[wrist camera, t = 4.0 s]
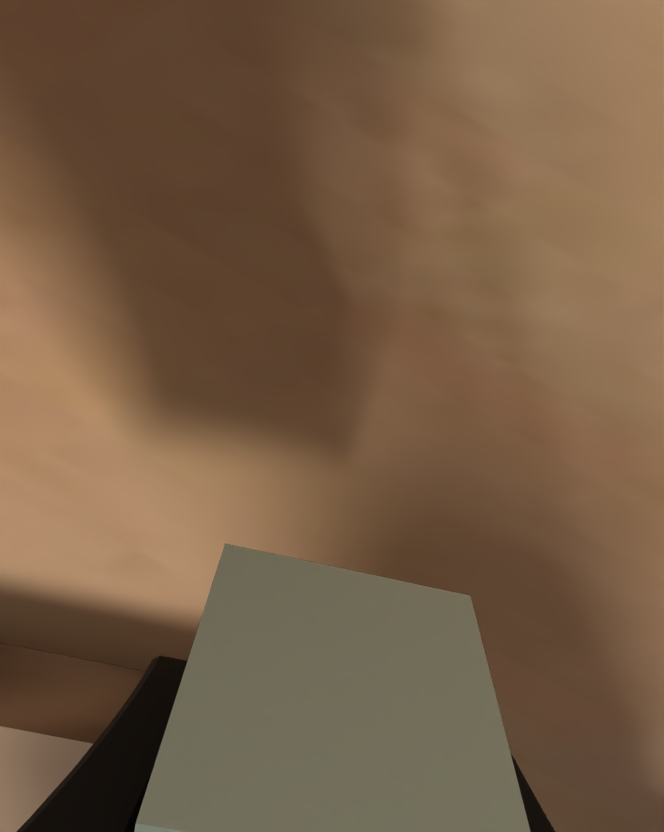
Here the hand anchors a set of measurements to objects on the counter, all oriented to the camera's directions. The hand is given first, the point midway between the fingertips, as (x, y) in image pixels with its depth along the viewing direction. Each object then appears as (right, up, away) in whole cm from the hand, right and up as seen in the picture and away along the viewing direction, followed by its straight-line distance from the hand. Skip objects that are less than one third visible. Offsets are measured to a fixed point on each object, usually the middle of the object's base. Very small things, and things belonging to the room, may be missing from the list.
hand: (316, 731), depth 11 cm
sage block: (0, +1, +1) cm, 2 cm away
